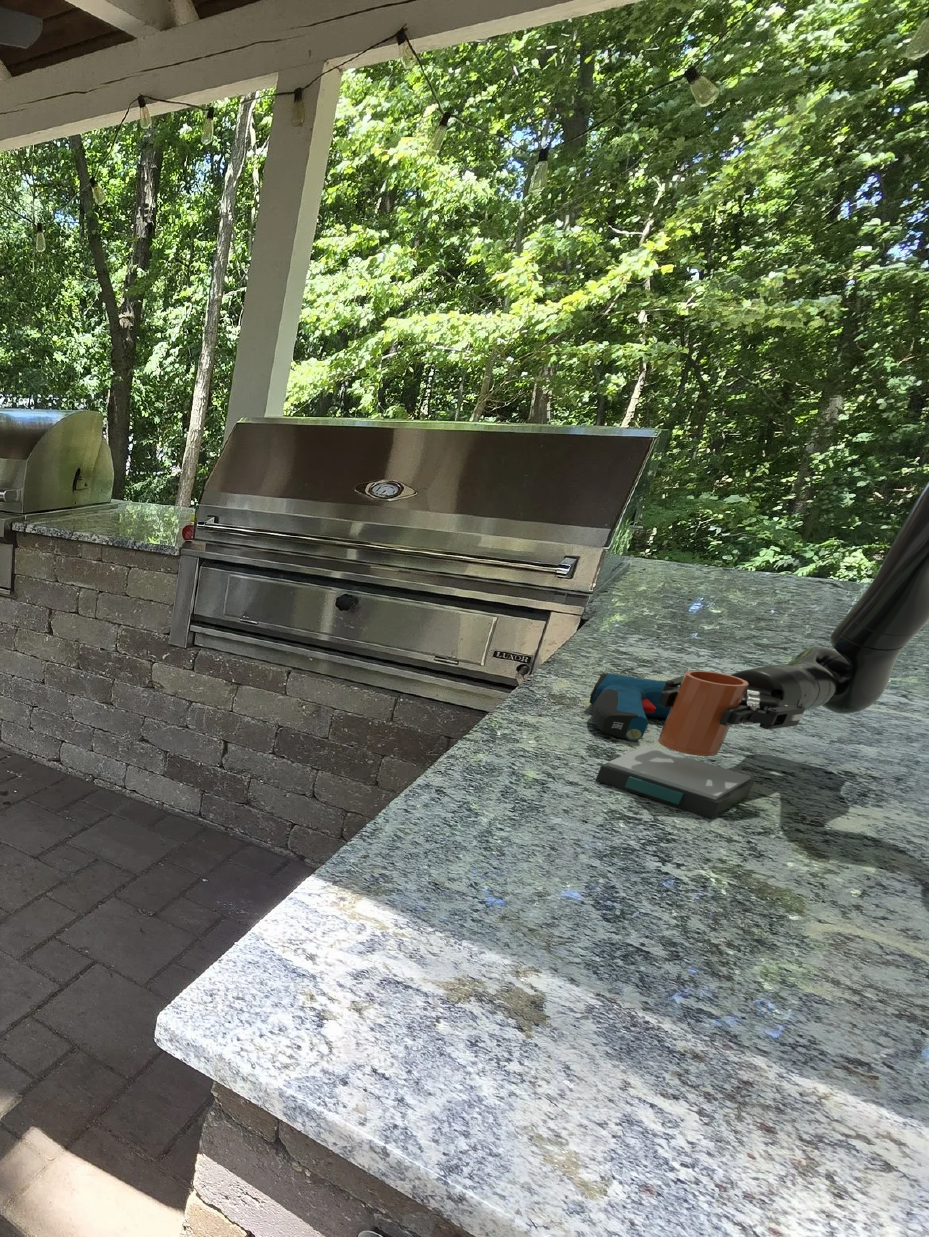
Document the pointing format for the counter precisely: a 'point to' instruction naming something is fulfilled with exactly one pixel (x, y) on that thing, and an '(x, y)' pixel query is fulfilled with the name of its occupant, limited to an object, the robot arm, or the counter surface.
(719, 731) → the cup
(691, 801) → the scale
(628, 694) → the infrared thermometer
